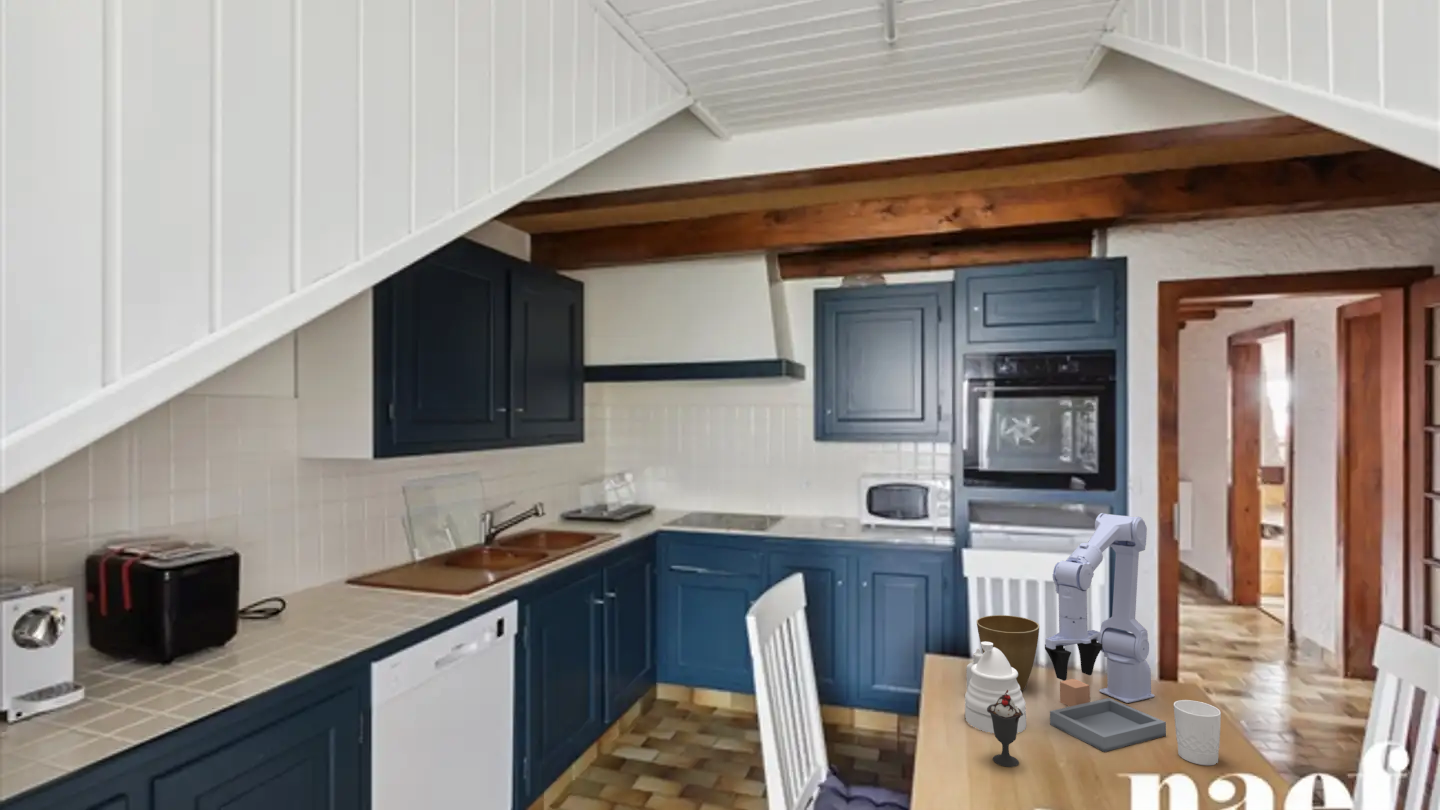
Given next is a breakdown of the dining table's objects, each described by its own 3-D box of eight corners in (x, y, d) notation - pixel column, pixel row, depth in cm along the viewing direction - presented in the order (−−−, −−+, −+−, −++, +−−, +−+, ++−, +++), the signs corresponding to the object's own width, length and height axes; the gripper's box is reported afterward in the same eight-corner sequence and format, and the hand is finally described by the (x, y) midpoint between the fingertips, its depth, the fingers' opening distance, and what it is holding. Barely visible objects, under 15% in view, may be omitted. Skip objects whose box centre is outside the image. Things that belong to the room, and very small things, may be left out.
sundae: (1008, 772, 139) (1006, 695, 139) (981, 758, 145) (979, 683, 145) (1031, 764, 142) (1029, 688, 142) (1003, 750, 148) (1002, 677, 148)
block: (1074, 699, 173) (1073, 678, 173) (1089, 706, 169) (1089, 685, 169) (1060, 702, 172) (1059, 681, 172) (1075, 709, 167) (1075, 688, 167)
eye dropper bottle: (977, 692, 178) (976, 643, 178) (994, 700, 173) (993, 650, 173) (964, 695, 177) (963, 646, 177) (981, 703, 171) (980, 653, 172)
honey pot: (994, 739, 153) (993, 655, 153) (953, 716, 165) (951, 638, 165) (1039, 727, 158) (1037, 646, 158) (995, 706, 170) (994, 630, 170)
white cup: (1214, 751, 146) (1213, 702, 146) (1227, 770, 139) (1226, 718, 139) (1170, 746, 149) (1169, 697, 149) (1180, 764, 141) (1179, 713, 141)
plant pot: (1008, 671, 192) (1007, 611, 192) (1054, 691, 178) (1052, 626, 178) (965, 680, 186) (963, 619, 186) (1008, 701, 172) (1007, 635, 172)
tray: (1109, 710, 166) (1108, 697, 166) (1166, 735, 153) (1165, 722, 153) (1050, 724, 160) (1049, 711, 160) (1104, 752, 147) (1104, 737, 147)
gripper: (1063, 624, 154) (1064, 687, 154) (1112, 616, 159) (1113, 677, 159) (1037, 615, 160) (1038, 676, 160) (1085, 608, 166) (1086, 667, 166)
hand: (1074, 676), depth 160 cm, fingers open, 7 cm apart
